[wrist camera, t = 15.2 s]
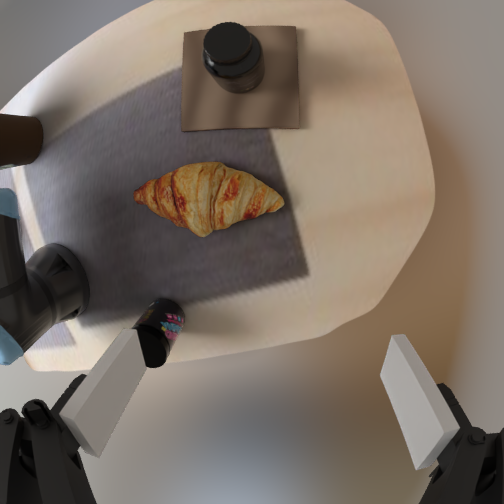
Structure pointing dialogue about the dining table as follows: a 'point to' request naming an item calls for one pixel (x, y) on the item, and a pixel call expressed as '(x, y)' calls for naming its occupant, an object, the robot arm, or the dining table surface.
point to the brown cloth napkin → (246, 104)
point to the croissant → (207, 197)
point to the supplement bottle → (233, 57)
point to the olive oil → (19, 140)
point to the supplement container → (159, 331)
